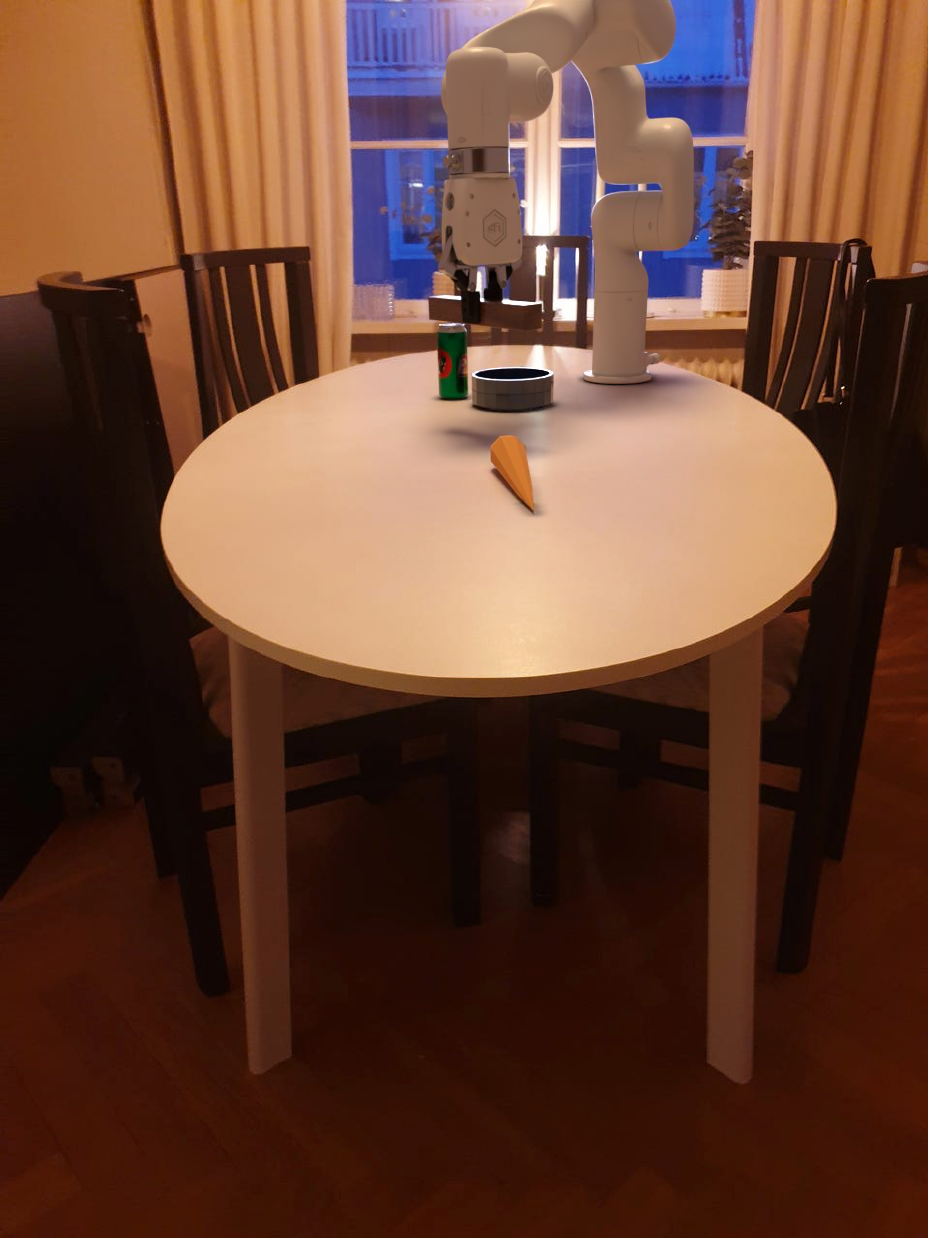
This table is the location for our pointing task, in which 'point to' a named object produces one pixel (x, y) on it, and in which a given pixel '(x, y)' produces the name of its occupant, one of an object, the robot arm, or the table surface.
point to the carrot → (513, 466)
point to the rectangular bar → (489, 312)
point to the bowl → (512, 388)
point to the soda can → (452, 361)
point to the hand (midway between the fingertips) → (482, 320)
